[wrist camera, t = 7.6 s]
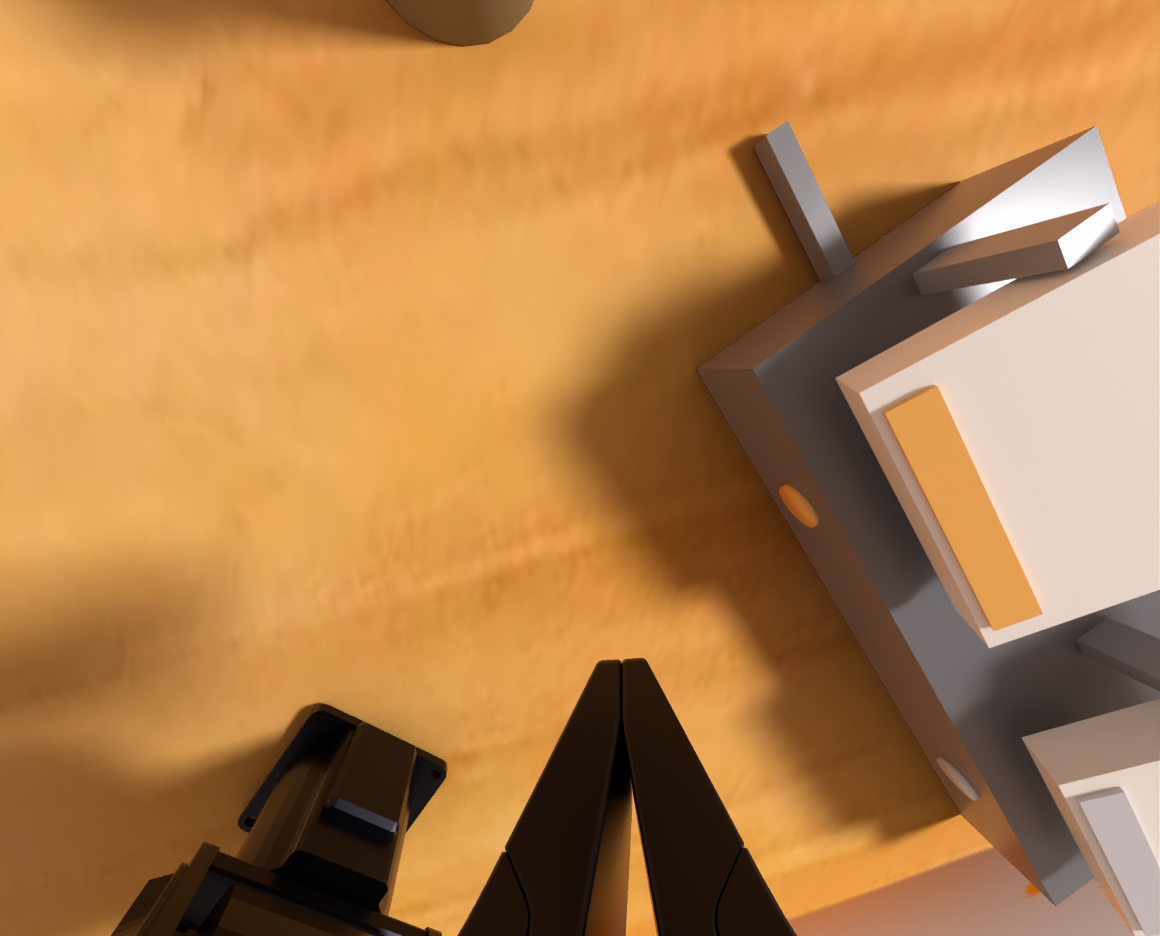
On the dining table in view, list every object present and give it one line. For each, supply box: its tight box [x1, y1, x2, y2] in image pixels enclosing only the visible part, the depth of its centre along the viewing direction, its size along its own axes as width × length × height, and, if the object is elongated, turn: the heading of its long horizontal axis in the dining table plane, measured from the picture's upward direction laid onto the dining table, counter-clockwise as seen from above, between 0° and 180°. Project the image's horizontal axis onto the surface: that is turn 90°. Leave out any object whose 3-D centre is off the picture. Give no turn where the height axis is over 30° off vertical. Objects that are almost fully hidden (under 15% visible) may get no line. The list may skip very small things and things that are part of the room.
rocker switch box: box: [696, 121, 1160, 906], centre depth 20 cm, size 14×36×10 cm, turn 34°
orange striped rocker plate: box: [835, 200, 1160, 648], centre depth 14 cm, size 12×10×2 cm
